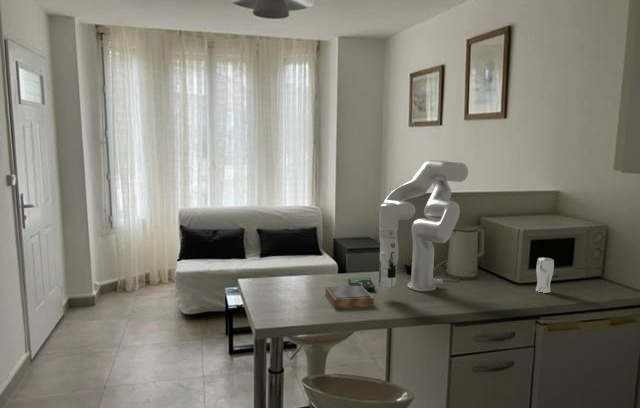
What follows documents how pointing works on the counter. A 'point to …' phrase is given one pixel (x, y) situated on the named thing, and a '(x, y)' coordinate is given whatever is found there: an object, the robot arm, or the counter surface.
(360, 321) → the counter surface
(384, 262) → the syrup box
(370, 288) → the disk drive
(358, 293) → the stand
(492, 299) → the counter surface
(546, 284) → the beer glass
